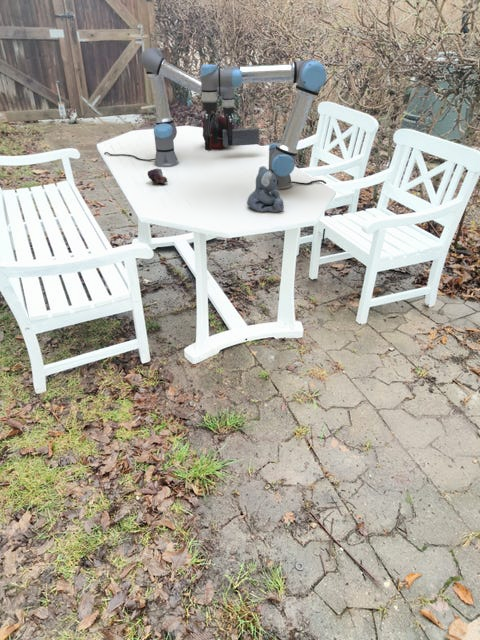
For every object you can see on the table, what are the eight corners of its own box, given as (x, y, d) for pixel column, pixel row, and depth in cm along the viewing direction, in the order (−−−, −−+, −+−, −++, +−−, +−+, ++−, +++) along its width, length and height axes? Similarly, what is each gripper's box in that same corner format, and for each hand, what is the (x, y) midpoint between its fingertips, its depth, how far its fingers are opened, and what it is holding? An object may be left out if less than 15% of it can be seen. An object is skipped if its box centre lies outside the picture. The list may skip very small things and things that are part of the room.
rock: (162, 181, 267) (146, 183, 263) (160, 166, 263) (144, 168, 259) (169, 183, 258) (152, 185, 254) (167, 168, 254) (150, 170, 250)
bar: (224, 146, 298) (223, 131, 292) (223, 144, 302) (222, 129, 297) (258, 144, 301) (258, 129, 296) (257, 142, 305) (257, 127, 300)
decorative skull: (200, 122, 333) (198, 119, 310) (231, 115, 333) (232, 111, 309) (207, 152, 340) (206, 151, 317) (237, 145, 339) (238, 143, 316)
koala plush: (284, 213, 221) (286, 172, 209) (248, 214, 219) (248, 174, 208) (279, 200, 235) (281, 162, 224) (245, 202, 234) (245, 163, 223)
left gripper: (236, 108, 280) (237, 147, 293) (231, 103, 295) (233, 141, 308) (224, 109, 279) (226, 148, 292) (220, 104, 294) (222, 141, 307)
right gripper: (210, 105, 207) (212, 153, 219) (223, 97, 227) (224, 141, 239) (194, 105, 208) (197, 152, 221) (209, 97, 229) (211, 140, 241)
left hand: (229, 144), depth 300 cm, fingers closed on bar, 5 cm apart
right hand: (211, 146), depth 230 cm, fingers open, 13 cm apart
